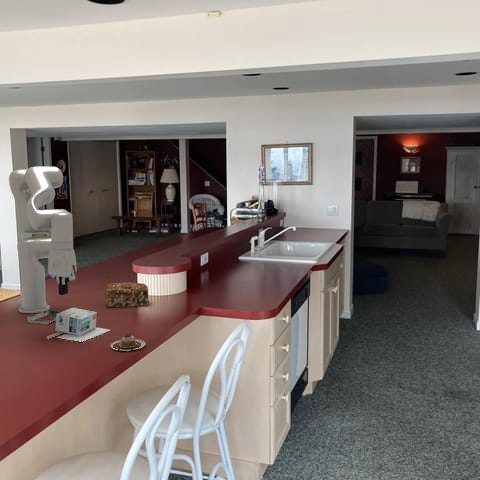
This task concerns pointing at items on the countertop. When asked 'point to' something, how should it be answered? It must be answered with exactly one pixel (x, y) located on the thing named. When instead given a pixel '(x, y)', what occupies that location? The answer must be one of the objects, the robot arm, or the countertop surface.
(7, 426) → the countertop surface
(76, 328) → the light bulb box
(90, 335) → the white flat sheet
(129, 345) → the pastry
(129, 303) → the bread
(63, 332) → the maple strip
